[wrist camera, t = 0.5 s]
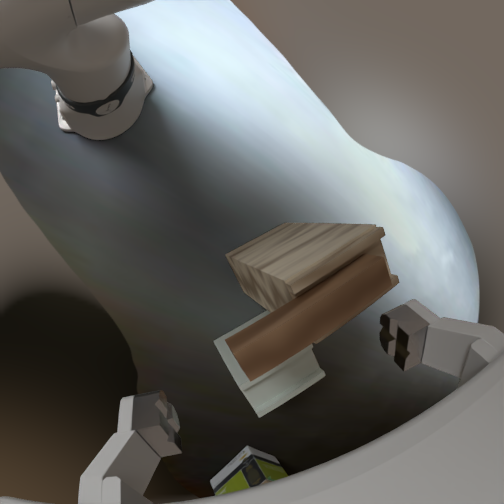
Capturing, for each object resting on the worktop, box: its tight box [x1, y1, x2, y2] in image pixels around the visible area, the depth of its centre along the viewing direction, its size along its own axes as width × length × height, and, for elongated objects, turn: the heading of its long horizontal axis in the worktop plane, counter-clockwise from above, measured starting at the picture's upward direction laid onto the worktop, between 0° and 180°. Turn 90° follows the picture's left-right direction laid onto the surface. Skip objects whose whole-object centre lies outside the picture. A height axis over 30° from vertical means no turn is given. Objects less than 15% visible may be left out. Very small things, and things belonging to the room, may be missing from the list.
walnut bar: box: [225, 254, 392, 382], centre depth 30 cm, size 4×18×4 cm, turn 116°
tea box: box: [210, 446, 288, 496], centre depth 54 cm, size 15×10×15 cm, turn 138°
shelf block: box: [225, 223, 399, 344], centre depth 44 cm, size 8×13×27 cm, turn 116°
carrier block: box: [213, 310, 326, 418], centre depth 50 cm, size 7×12×18 cm, turn 116°
